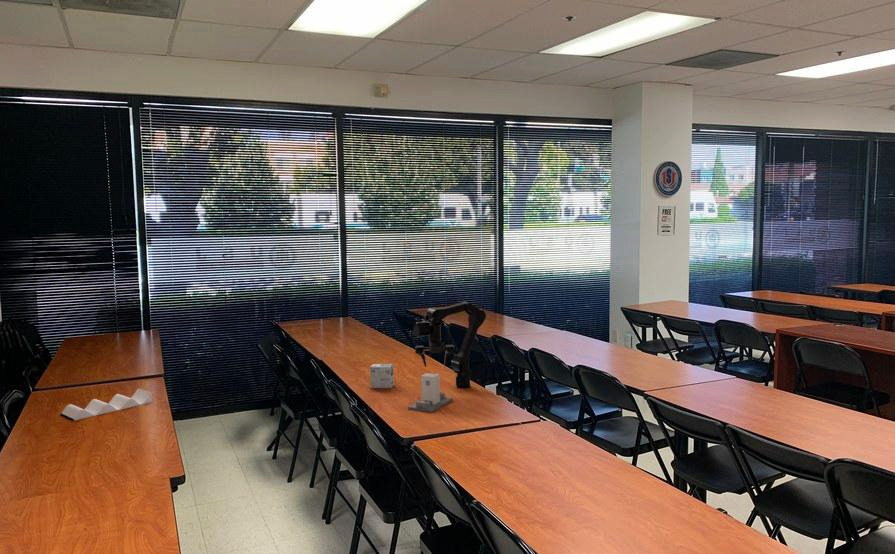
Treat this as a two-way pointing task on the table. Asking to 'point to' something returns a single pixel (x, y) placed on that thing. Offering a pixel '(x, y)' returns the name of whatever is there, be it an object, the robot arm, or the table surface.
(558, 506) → the table surface
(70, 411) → the grey zigzag strip
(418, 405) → the rail plate
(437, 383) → the block
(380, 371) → the light bulb box
